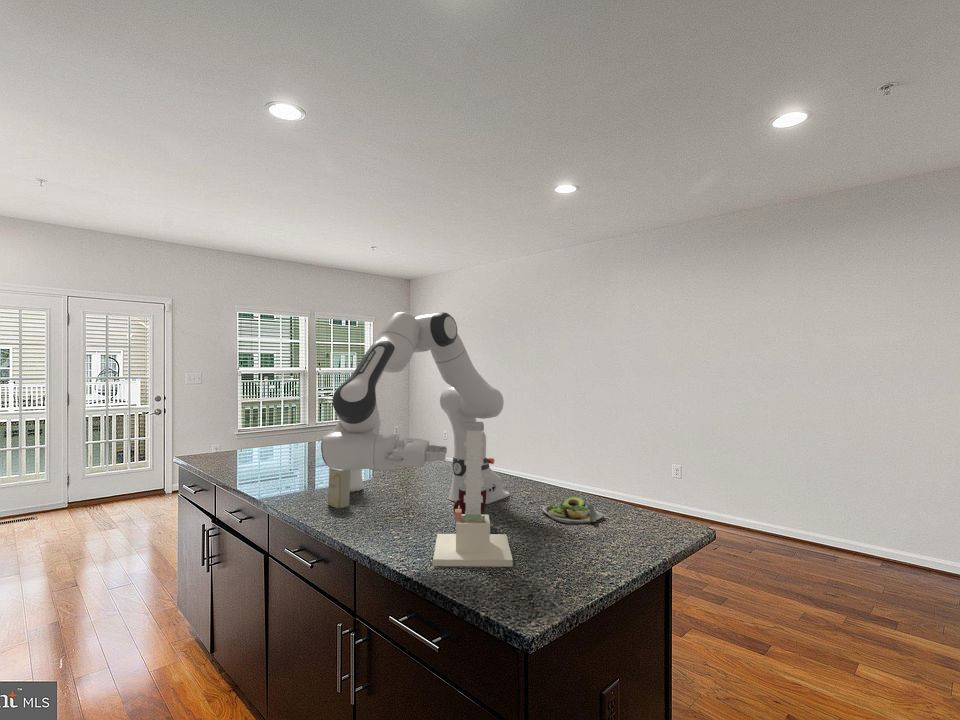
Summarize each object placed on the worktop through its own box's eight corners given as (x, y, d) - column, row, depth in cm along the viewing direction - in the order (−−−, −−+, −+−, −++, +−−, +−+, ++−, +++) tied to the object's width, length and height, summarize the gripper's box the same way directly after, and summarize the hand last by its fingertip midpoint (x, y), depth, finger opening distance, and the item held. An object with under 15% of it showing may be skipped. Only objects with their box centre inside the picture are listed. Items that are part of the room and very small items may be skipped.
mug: (466, 531, 139) (466, 494, 139) (446, 524, 145) (446, 489, 145) (491, 523, 147) (492, 488, 147) (471, 517, 152) (472, 484, 153)
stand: (437, 539, 132) (438, 501, 132) (506, 540, 132) (506, 501, 133) (432, 566, 114) (433, 521, 114) (512, 566, 115) (513, 522, 115)
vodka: (347, 494, 179) (349, 408, 179) (331, 489, 184) (333, 407, 185) (368, 489, 186) (370, 407, 186) (352, 485, 192) (354, 406, 192)
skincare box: (327, 505, 163) (328, 467, 164) (339, 502, 167) (339, 465, 167) (338, 509, 159) (339, 470, 160) (350, 506, 163) (351, 468, 163)
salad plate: (618, 525, 148) (619, 509, 149) (563, 529, 143) (563, 513, 143) (586, 507, 167) (586, 493, 167) (536, 511, 162) (536, 496, 162)
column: (463, 515, 127) (465, 421, 127) (481, 515, 127) (483, 421, 127) (463, 523, 120) (465, 424, 121) (482, 523, 120) (484, 424, 121)
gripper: (382, 445, 113) (445, 446, 113) (394, 434, 133) (447, 435, 134) (382, 473, 112) (444, 474, 113) (394, 458, 133) (447, 459, 133)
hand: (446, 453), depth 123 cm, fingers open, 8 cm apart
